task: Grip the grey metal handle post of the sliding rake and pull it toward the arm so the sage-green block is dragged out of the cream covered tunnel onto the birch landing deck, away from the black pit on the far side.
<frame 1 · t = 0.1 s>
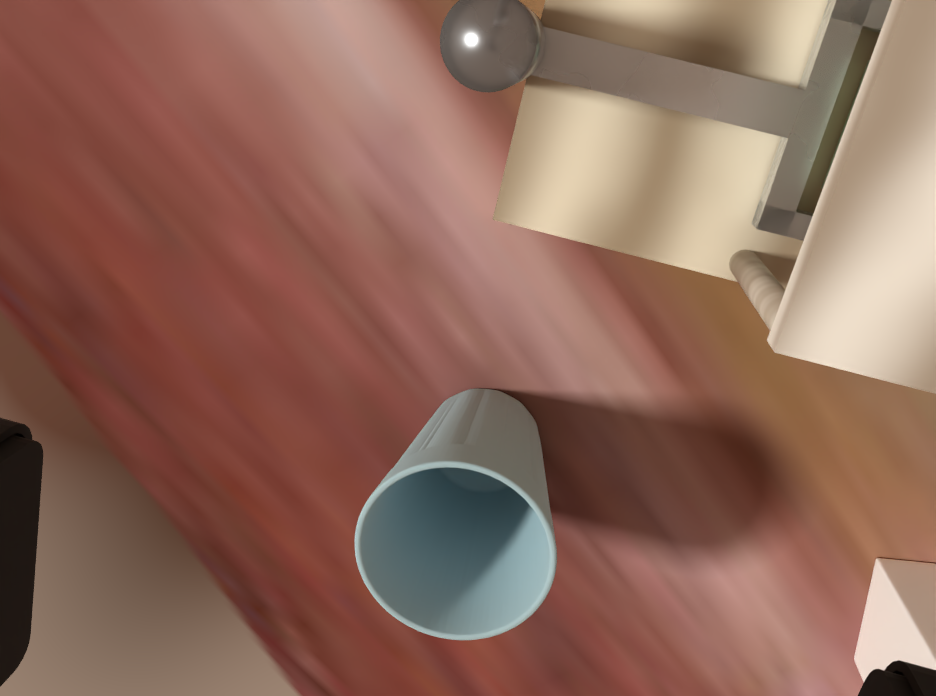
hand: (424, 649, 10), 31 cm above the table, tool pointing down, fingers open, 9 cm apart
slider: (766, 108, 31), point 6 cm above the table, slide at 0.0 cm
milk: (925, 613, 43), on the table
tunnel: (914, 142, 36), on the table
cup: (484, 438, 43), on the table
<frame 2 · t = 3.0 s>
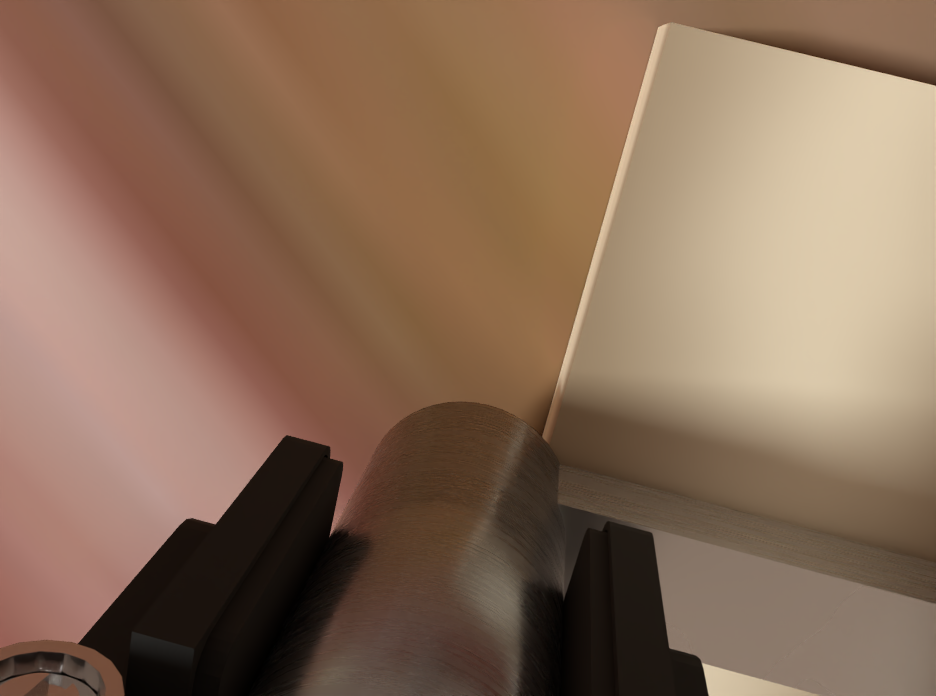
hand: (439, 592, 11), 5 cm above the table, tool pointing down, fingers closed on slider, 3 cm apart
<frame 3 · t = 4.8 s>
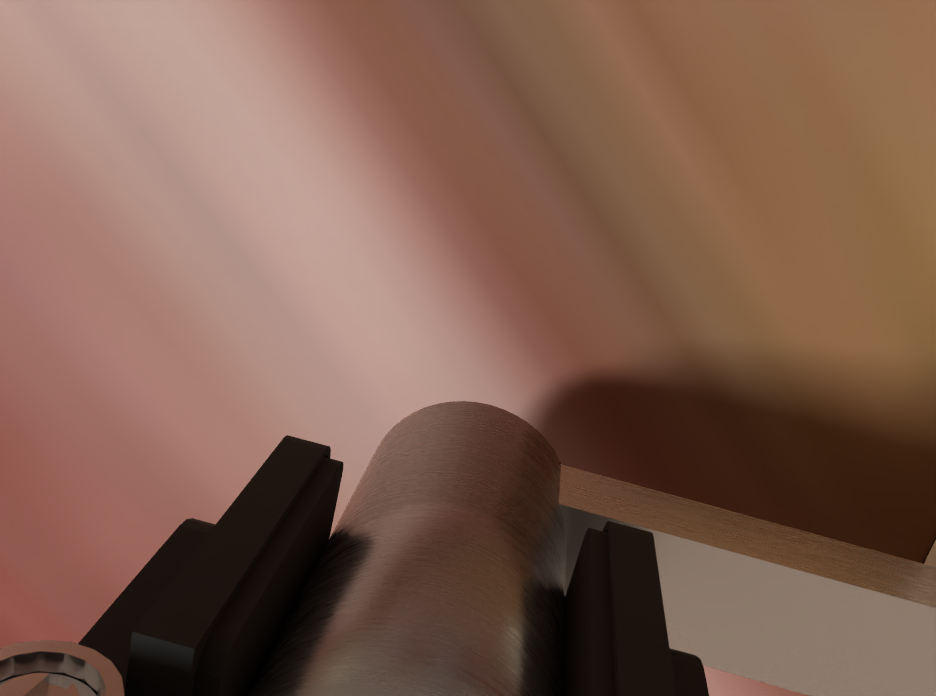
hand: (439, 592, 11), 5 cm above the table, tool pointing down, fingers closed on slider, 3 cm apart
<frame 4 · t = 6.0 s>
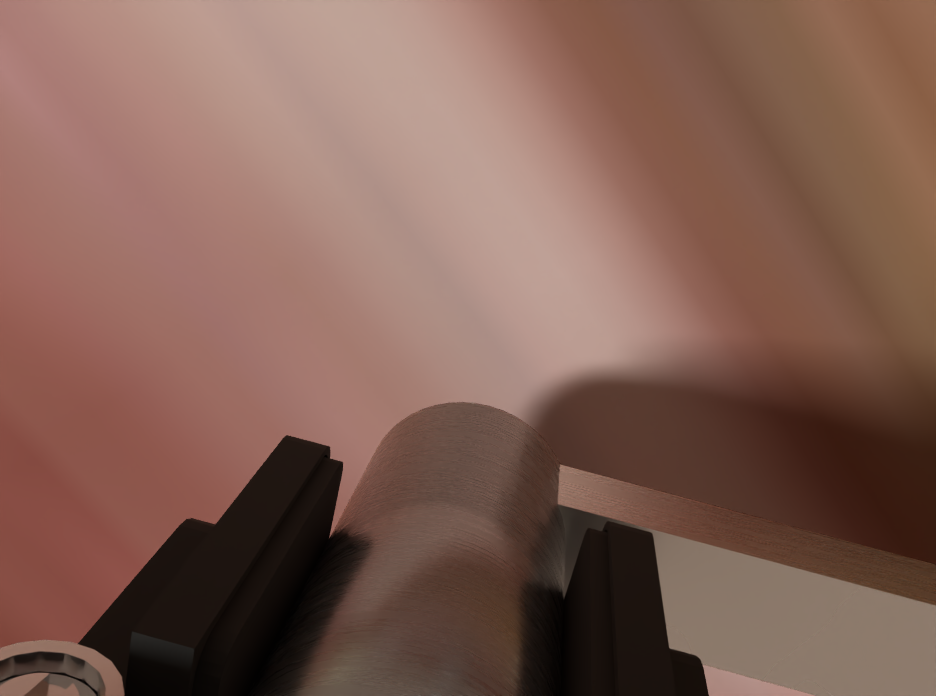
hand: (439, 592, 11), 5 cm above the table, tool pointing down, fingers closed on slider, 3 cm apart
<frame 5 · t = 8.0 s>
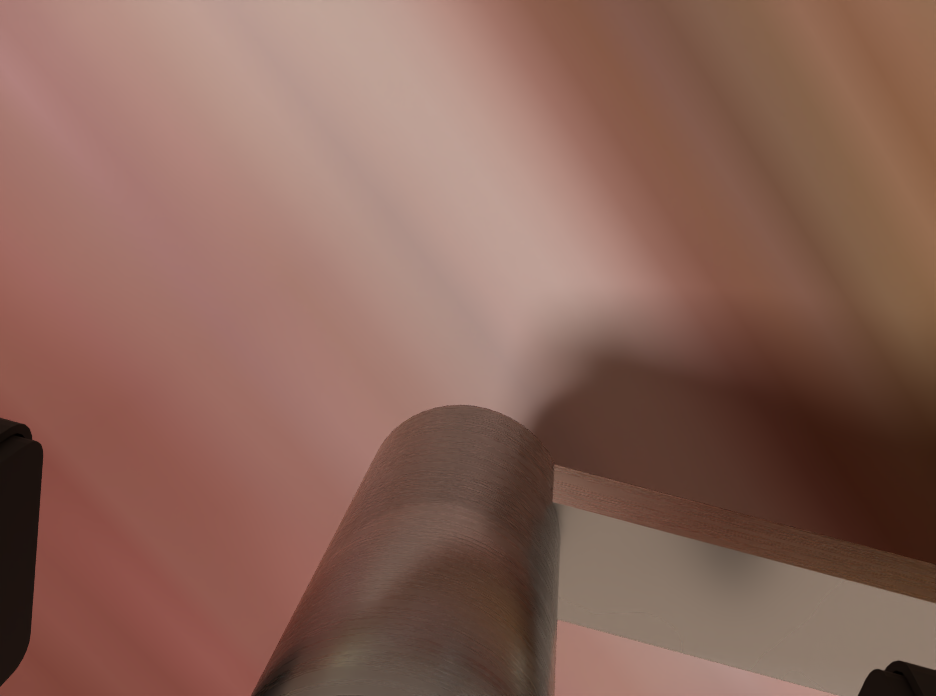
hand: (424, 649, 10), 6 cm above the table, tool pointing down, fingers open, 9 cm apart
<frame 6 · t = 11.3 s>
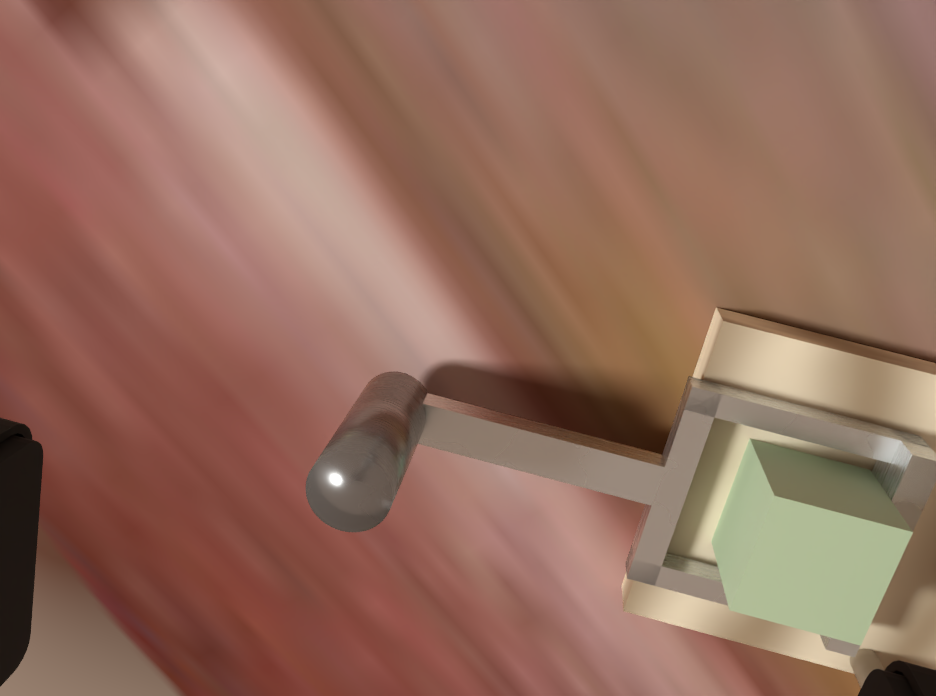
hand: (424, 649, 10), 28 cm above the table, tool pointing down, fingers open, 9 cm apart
slider: (620, 509, 33), point 6 cm above the table, slide at 10.9 cm, touching block
block: (788, 506, 37), point 2 cm above the table, touching slider, tunnel
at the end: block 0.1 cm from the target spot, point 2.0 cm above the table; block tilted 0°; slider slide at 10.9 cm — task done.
